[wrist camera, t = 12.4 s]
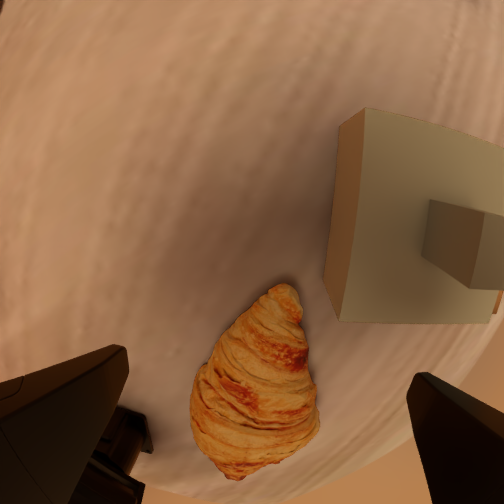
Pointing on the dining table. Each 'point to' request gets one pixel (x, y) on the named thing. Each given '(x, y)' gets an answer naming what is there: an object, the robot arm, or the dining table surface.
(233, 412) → the croissant
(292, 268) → the dining table surface
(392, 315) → the cover
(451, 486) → the robot arm
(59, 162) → the dining table surface
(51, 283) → the dining table surface
